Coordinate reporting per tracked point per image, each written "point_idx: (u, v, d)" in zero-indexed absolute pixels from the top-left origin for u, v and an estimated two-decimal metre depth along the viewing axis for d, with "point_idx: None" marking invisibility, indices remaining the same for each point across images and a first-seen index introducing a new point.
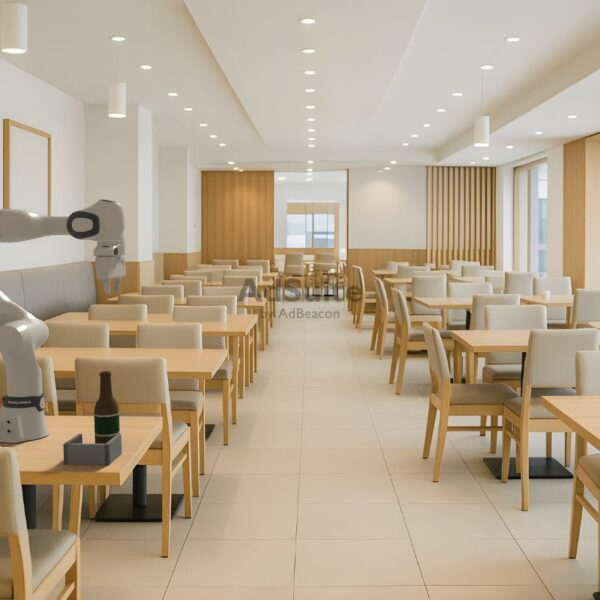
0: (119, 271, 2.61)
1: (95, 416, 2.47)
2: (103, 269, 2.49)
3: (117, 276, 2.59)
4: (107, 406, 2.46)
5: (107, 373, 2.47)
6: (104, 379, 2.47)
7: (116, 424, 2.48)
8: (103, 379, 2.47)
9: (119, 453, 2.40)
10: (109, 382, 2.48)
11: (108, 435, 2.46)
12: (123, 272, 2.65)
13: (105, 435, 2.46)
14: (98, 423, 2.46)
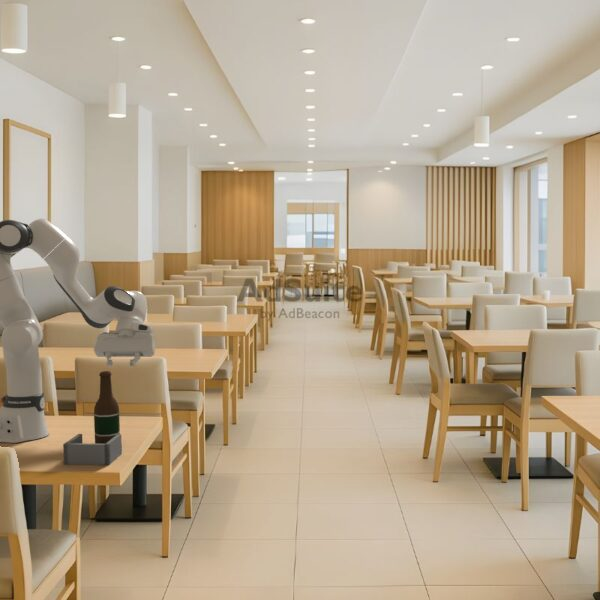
0: None
1: (95, 416, 2.47)
2: (154, 347, 2.68)
3: None
4: (107, 406, 2.46)
5: (107, 373, 2.47)
6: (104, 379, 2.47)
7: (116, 424, 2.48)
8: (103, 379, 2.47)
9: (119, 453, 2.40)
10: (109, 382, 2.48)
11: (108, 435, 2.46)
12: None
13: (105, 435, 2.46)
14: (98, 423, 2.46)
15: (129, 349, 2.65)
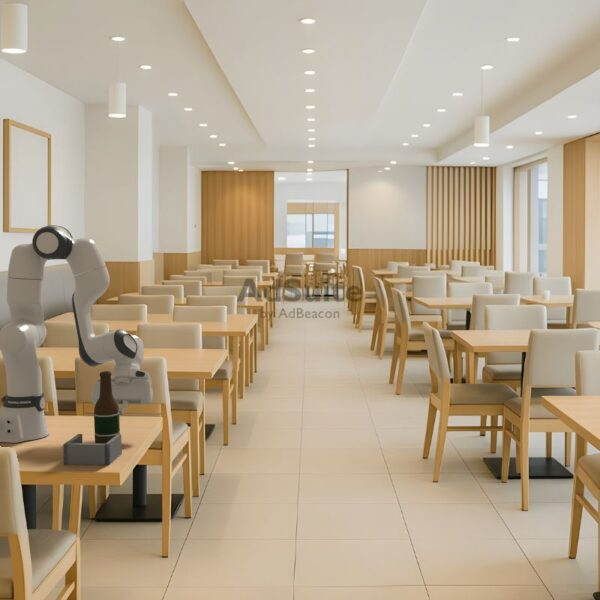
0: None
1: (95, 416, 2.47)
2: (151, 393, 2.63)
3: None
4: (107, 406, 2.46)
5: (107, 373, 2.47)
6: (104, 379, 2.47)
7: (116, 424, 2.48)
8: (103, 379, 2.47)
9: (119, 453, 2.40)
10: (109, 382, 2.48)
11: (108, 435, 2.46)
12: None
13: (105, 435, 2.46)
14: (98, 423, 2.46)
15: (127, 397, 2.61)
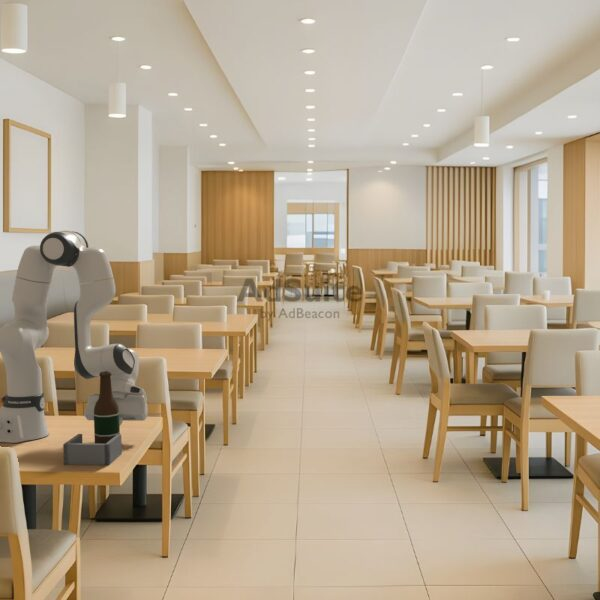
0: None
1: (95, 416, 2.47)
2: (146, 410, 2.58)
3: None
4: (107, 406, 2.46)
5: (107, 373, 2.47)
6: (104, 379, 2.47)
7: (116, 424, 2.47)
8: (103, 379, 2.47)
9: (119, 453, 2.40)
10: (109, 382, 2.47)
11: (108, 435, 2.46)
12: None
13: (105, 435, 2.46)
14: (97, 423, 2.46)
15: (121, 413, 2.56)
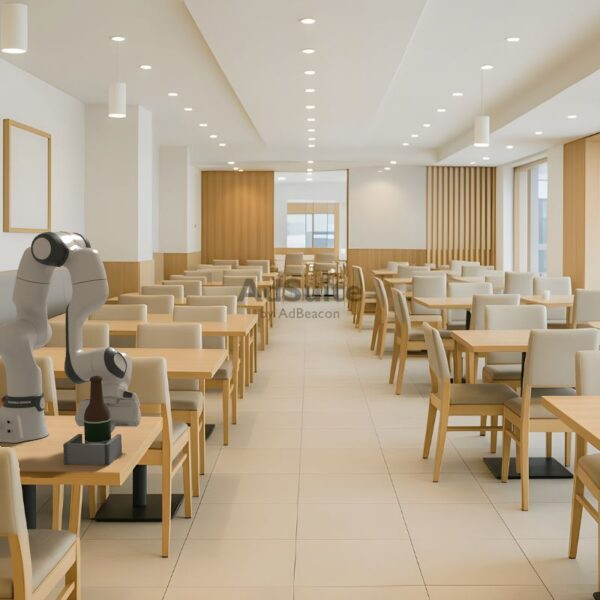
0: None
1: (85, 422, 2.39)
2: (139, 416, 2.50)
3: None
4: (96, 412, 2.37)
5: (97, 378, 2.38)
6: (94, 384, 2.38)
7: (106, 431, 2.39)
8: (93, 384, 2.38)
9: (119, 453, 2.40)
10: (99, 387, 2.39)
11: (97, 442, 2.37)
12: None
13: (95, 442, 2.37)
14: (87, 429, 2.38)
15: (113, 419, 2.47)
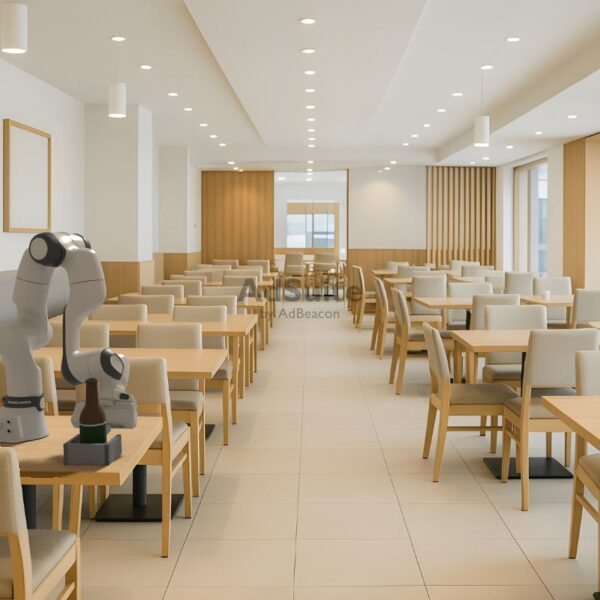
0: None
1: (80, 425, 2.35)
2: (136, 418, 2.47)
3: None
4: (92, 415, 2.34)
5: (93, 380, 2.35)
6: (90, 387, 2.35)
7: (102, 434, 2.35)
8: (88, 386, 2.35)
9: (119, 453, 2.40)
10: (95, 390, 2.35)
11: None
12: None
13: None
14: (82, 432, 2.34)
15: (109, 421, 2.45)
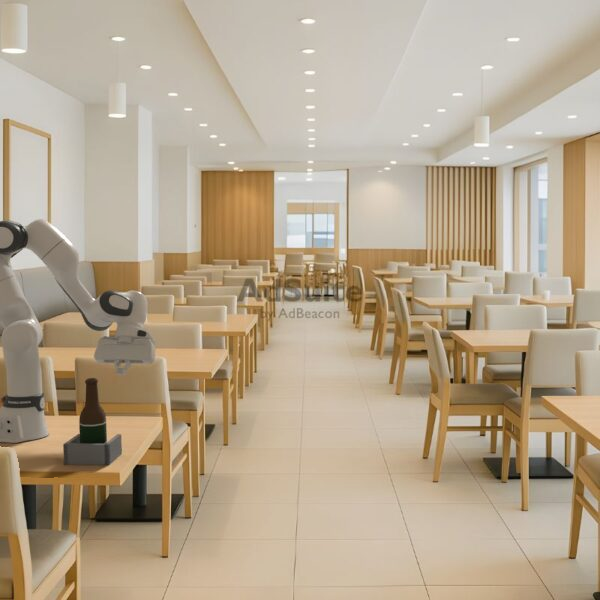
0: None
1: (80, 425, 2.35)
2: (153, 353, 2.63)
3: None
4: (92, 415, 2.34)
5: (93, 380, 2.35)
6: (90, 387, 2.35)
7: (102, 434, 2.35)
8: (88, 386, 2.35)
9: (119, 453, 2.40)
10: (95, 390, 2.35)
11: None
12: None
13: None
14: (82, 432, 2.34)
15: (129, 357, 2.61)
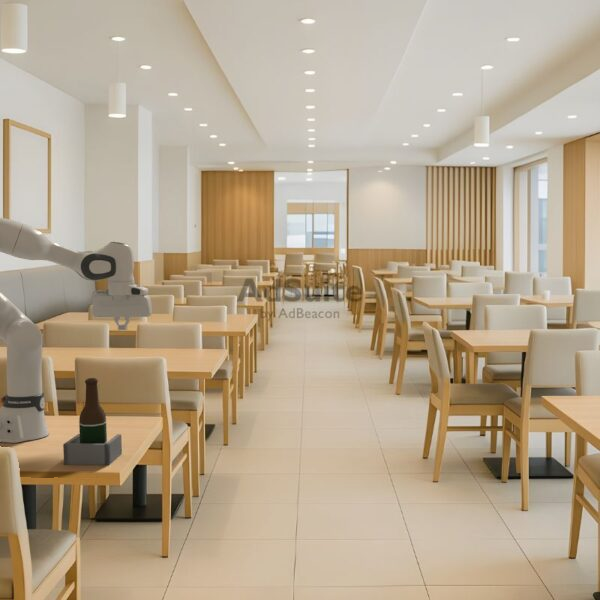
0: None
1: (80, 425, 2.35)
2: (150, 306, 2.71)
3: None
4: (92, 415, 2.34)
5: (93, 380, 2.35)
6: (90, 387, 2.35)
7: (102, 434, 2.35)
8: (88, 386, 2.35)
9: (119, 453, 2.40)
10: (95, 390, 2.35)
11: None
12: None
13: None
14: (82, 432, 2.34)
15: (128, 315, 2.70)
